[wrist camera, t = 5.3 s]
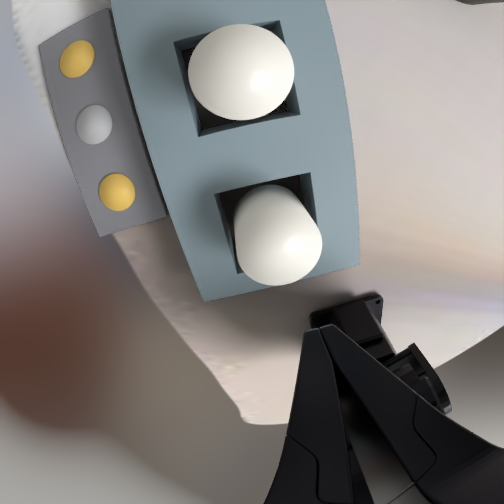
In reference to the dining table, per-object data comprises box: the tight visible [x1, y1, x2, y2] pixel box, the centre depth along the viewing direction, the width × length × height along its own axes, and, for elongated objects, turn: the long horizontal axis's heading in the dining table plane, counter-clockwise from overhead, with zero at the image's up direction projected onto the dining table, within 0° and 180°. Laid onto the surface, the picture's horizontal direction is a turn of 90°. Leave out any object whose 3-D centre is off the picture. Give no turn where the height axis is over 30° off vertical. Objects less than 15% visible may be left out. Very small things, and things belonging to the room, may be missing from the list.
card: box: [39, 8, 168, 237], centre depth 14 cm, size 14×5×1 cm, turn 12°
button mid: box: [188, 24, 294, 120], centre depth 11 cm, size 4×4×4 cm
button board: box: [110, 0, 360, 302], centre depth 13 cm, size 24×10×3 cm, turn 12°
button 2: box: [233, 185, 322, 286], centre depth 15 cm, size 4×4×4 cm
